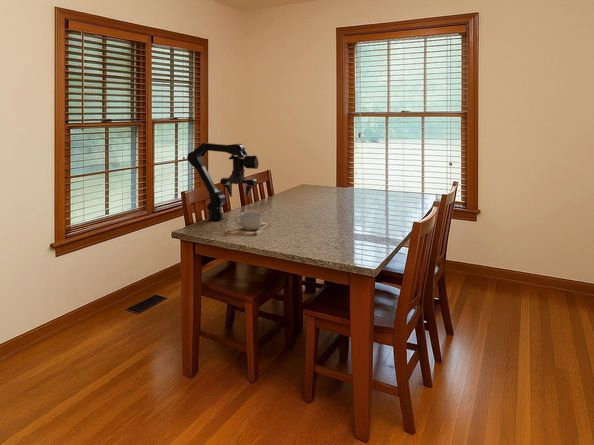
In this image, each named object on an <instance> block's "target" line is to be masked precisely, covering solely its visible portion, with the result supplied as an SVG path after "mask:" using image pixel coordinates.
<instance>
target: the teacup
mask: <svg viewBox="0 0 594 445" xmlns="http://www.w3.org/2000/svg"><path fill="white" fill-rule="evenodd" d="M238 218H239V219H240V220H239V221H238ZM262 218H263V214H262V212H258V211H249V210H248V211H243V212H240V214H239V215H236V216H234V218H233V219H234V222H235V223H236V224H237V225H239V226H240V227H242V228H243V229H244V231H245V230H246V231H258V230H259V229H260V227H262V226H261V223H263V222H262ZM240 222H241V223H240Z"/></svg>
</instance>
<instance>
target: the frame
mask: <svg viewBox="0 0 594 445" xmlns="http://www.w3.org/2000/svg"><path fill="white" fill-rule="evenodd" d="M239 223H241V221H239ZM270 226H271V223H270V222H268V223H267V222H261V226H260V227H261V228H258V229H257V230H255V231H245V230H243V231H242V230H231V229H230V230H229V229H225V230H224V233H225V234H233V235H245V236H246V235H248V236H258V235H260V234H261V233H262V232H264V231H265V230H267V229H268V228H269V227H270Z"/></svg>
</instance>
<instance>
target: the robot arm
mask: <svg viewBox="0 0 594 445" xmlns="http://www.w3.org/2000/svg"><path fill="white" fill-rule="evenodd" d="M211 151H212V152H218V153H219V152H220V153H221V152H222V153H227V154H229V155H230V157H228V160H232V171H231V174H230V176H229V177H222V178H221V179H220V181H219V182H220V184H221V185H222V186H223V187H225V188H226V190H227V192H228V195H229V198H232V197H233V185H238V184H246V185H245V187H246V193H245V196H246V199H248V198H249V196H250V193H251V191H252V189H253V187H255V186H256V185H258V180H257V178H248V179H246V177H245V171H246V170H245V169H251V170H253V169H255V170H257V169H258V168H259V158H258V156H257V155H249V153H248V152H247V151H246V147H245V145H244V144H243V143H235V144H222V143H220V144H218V143H211V142H210V143H209V142H202V143H200V145H199V146H197V147H196V148H195V149H194V150H192V151H191V152H188V153H187V156H186V158H187V161H188V162H189V164H190V165H191V166H192V167H193V168H194V169H196V171H197V173H198V175H199V177H200V179H201V181H202V182H203V184H204V187H205V188H206V190H207V192H208V196H209V203H208V204H207V205H206V208H207V210H208V219H207V221H211V222H212V221H213V222H219V221H222V220H223V219H224V216H223V211H222V210H223V209H222V208H223V206H224V205H225V203H226V201H227V200H226V195H225V194H224V191H223V190H222V189H221V190H219V189H218V188H217V186H216V185H215V183H214V181H213V179H212V177H211V175H210V173H209V172H208V170H207V167H206V166H205V159H204V156H205V155H206V153H208V152H211Z"/></svg>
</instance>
